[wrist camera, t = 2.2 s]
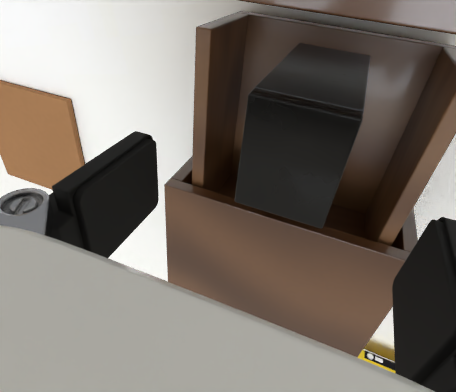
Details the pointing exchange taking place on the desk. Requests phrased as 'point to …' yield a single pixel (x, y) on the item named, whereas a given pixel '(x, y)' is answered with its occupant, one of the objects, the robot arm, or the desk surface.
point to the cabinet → (281, 265)
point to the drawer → (373, 109)
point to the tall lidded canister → (301, 132)
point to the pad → (38, 135)
